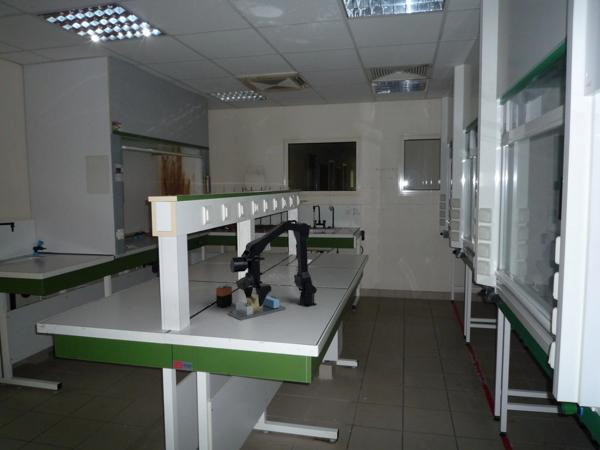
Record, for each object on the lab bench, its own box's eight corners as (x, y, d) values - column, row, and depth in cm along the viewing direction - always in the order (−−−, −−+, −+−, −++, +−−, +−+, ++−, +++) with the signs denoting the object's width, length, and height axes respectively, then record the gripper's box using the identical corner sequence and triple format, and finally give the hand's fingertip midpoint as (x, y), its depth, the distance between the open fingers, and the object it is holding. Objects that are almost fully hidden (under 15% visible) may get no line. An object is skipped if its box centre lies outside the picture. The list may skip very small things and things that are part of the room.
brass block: (257, 308, 192) (257, 295, 191) (262, 309, 189) (262, 296, 188) (246, 310, 188) (246, 297, 187) (251, 312, 185) (251, 299, 185)
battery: (216, 306, 198) (215, 286, 198) (226, 303, 204) (225, 283, 203) (222, 308, 196) (222, 287, 195) (232, 304, 202) (232, 284, 201)
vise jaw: (270, 302, 199) (270, 294, 199) (281, 306, 193) (281, 298, 192) (262, 304, 197) (262, 296, 196) (273, 308, 190) (273, 299, 189)
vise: (271, 304, 201) (271, 294, 201) (285, 309, 193) (285, 298, 193) (228, 314, 186) (227, 303, 185) (241, 320, 178) (241, 308, 177)
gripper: (227, 269, 189) (228, 303, 190) (250, 276, 174) (251, 312, 176) (248, 266, 196) (248, 299, 197) (271, 272, 182) (272, 307, 183)
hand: (254, 304), depth 188 cm, fingers open, 9 cm apart
